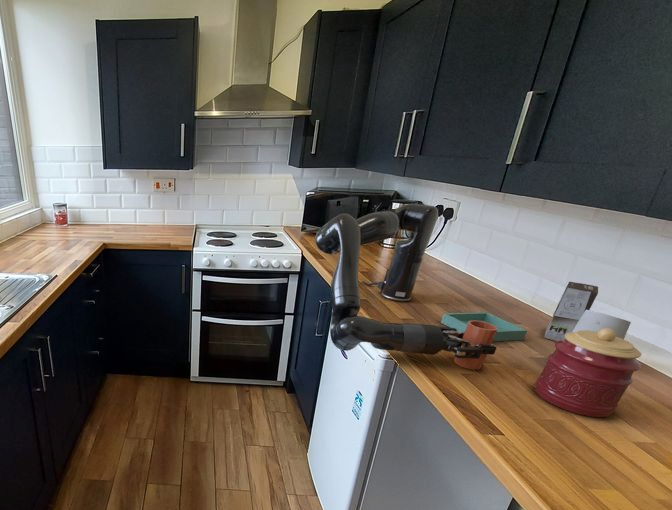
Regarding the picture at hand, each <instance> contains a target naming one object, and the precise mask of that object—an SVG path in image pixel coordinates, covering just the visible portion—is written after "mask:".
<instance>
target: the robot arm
mask: <svg viewBox="0 0 672 510" xmlns="http://www.w3.org/2000/svg"><path fill="white" fill-rule="evenodd" d="M438 218H439V209H438V208H437V207H436V206H434V205H429V204H428V205H427V204H421V203H406V204H404V205H401V206H399V207H396V208H393V209H386V210H379V211H374V212H370V213H367V214H364V215H363V216H361V217H359V218H356V217H354V216H353V215H352V214H350V213H345V212H344V213H343V212H342V213H340V214H338V215H335V217H333V218H332V219H330V220H329V221H328V222H327V223H325V224H323V226H321V227H320V228H319V229H318V230H317V232H316V234H315V237H314V243H315V245H316V247H317V249H318V250H320V251H321V252H322V253H324V254H327V255H337V254H339V255H338V259H337V262H336V266H335V269H334V272H333V275H332V278H331V282H330V299H331V318H330V328H329V332H330V334H329V335H330V340H331V342H332V344H333V345H334V347H336V348H337V349H339V350H340V351H344V352H347V351H351V350H354V349H355V348H356V347H358V345H359V344H361V343H368V344H370V345H371V346H372V347H373V348H375V349H377V350H382V351H394V352H400V353H405V354H406V353H407V354H417V355H418V354H419V355H431V356H434V355H437V354H439V353H440V352H441V351H445V352H449V353H452V352H453V353H454V358H455V357H456V358H478V359H479V358H480V355H481V354H487V355H491V356H492V355H495V354H496V351H497V349H498V348H497V346H495V345H494V344H493V345H492V344H491V345H482V344H474V343H470V342H469V340H465V339H462V337H463V335H464V333H463V332H462V331H457V329H455V328H450V327H448V326H442V325H436V324H421V323H409V322H405V323H403V322H402V323H397V322H382V321H379V320H376V319H373V318H369V317H365V316H361V315H358V314H359V312H360V311H361V306H362V305H361V303H362V302H361V295H360V294H361V293H360V285H359V265H360V255H361V254H360V253H361V246H364V245H368V244H372V243H378V242H381V241H385V240H388V239H391V238H392V237H394V236H395V235H396V234H397V233H398V231H405V232H410V233H415V234H414V236H413V237H412V238H410V239H405V240H399V241H397V242H396V243H395V245H394V250H393V253H392V256H391V260H390V264H389V268H387V269H386V271H385V275H384V278H383V281H378V282H371V283H368V282H366V281H364V280H363V281H362V282H361V283H362V284H364V285H365V286H369V287H370V286H375V285H377V289H380V294H381V296H382V297H383V298H385V299H386V300H390V301H393V302H405V303H407V302H410V301H411V298H412V295H413V291H414V288H415V285H416V282H417V278H418V275H419V272H420V268H421V266H422V263H423V259H424V255H425V253H426V250H427V248H428V245H429V243H430V242H431V241H430V240H431V238H432V235H433V232H434V230H435V227H436V224H437V222H438ZM462 343H465V344H464V347H463V346H462ZM469 346H472V347H469Z"/></svg>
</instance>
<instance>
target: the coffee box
mask: <svg viewBox="0 0 672 510" xmlns="http://www.w3.org/2000/svg"><path fill="white" fill-rule="evenodd" d="M598 294H599V286H598V285H592V284H587V283H581V282H575V281H568V283H567V285H566V287H565V289H564V292H563V293H562V295H561V297H560V299H559V302H558V303H557V306H556V308H555V310H554V312H553V314H552V316H551V319H550V321H549V324H548V325H547V328H546V329H545V333H544V336H543V338H545V339H547V340H552V341H555V342H557V341H559V340H565V339H566V338H565V334H566V333H570V332H572V331H573V329H574V328H575V326H576V325H577V323H578V321H579V320H580V318H581V317H582V315H583V314H584V312H585V310H591V308H592V306H593V304H594V302H595V300H596V298H597V296H598Z"/></svg>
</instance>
